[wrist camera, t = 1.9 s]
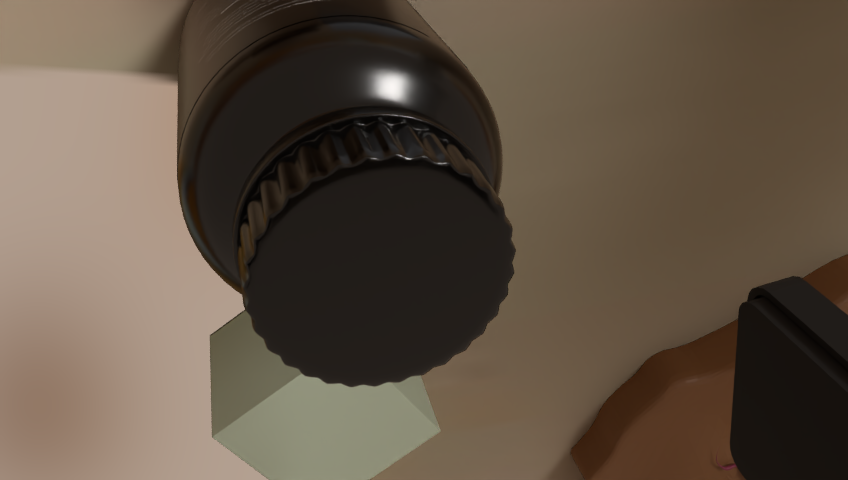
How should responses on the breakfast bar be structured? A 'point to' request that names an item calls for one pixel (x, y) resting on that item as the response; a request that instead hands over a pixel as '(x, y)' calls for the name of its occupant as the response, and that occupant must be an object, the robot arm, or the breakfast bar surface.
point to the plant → (680, 407)
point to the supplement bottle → (342, 182)
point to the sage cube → (308, 414)
